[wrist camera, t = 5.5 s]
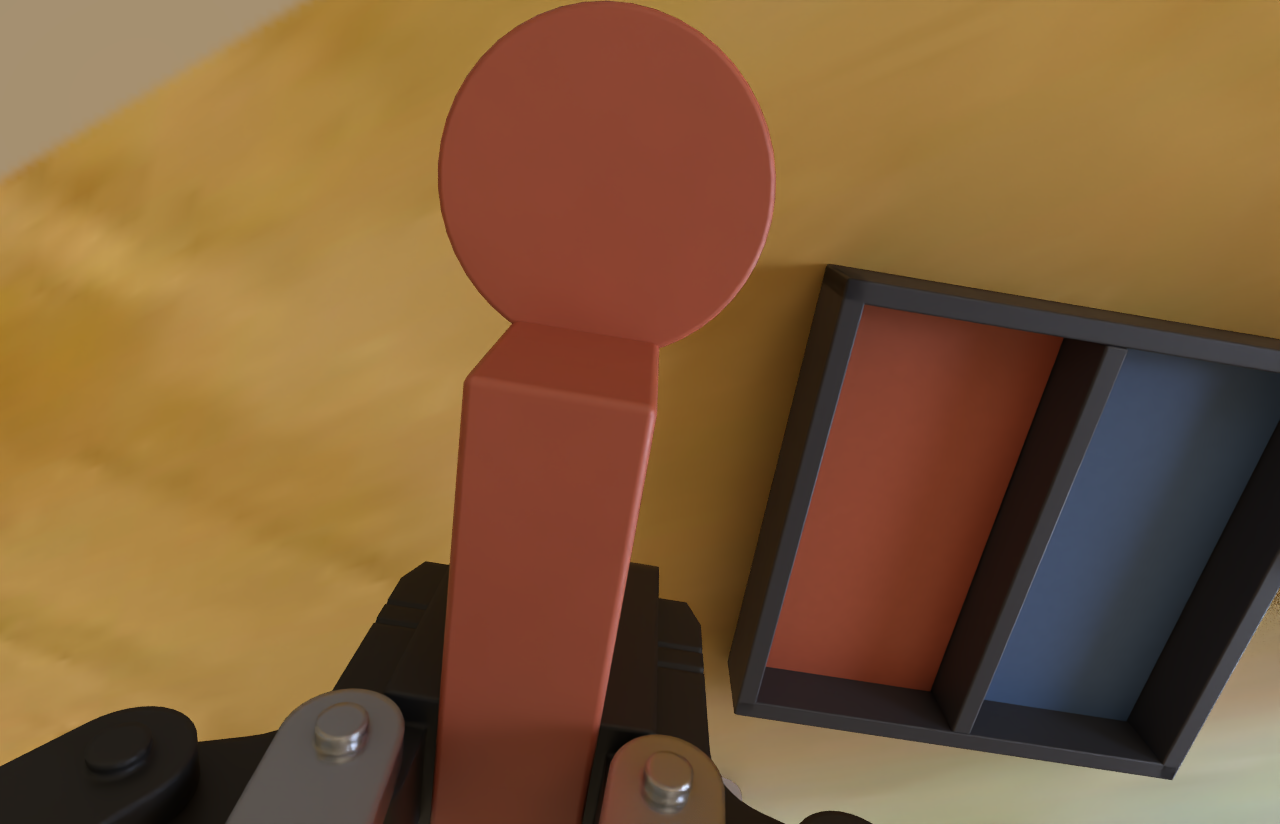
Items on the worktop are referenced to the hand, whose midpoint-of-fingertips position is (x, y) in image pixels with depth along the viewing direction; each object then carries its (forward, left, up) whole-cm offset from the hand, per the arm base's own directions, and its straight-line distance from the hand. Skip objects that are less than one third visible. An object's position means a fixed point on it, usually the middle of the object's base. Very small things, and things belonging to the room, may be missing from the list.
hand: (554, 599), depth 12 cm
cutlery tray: (+2, +13, -11) cm, 17 cm away
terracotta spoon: (-3, 0, 0) cm, 3 cm away
